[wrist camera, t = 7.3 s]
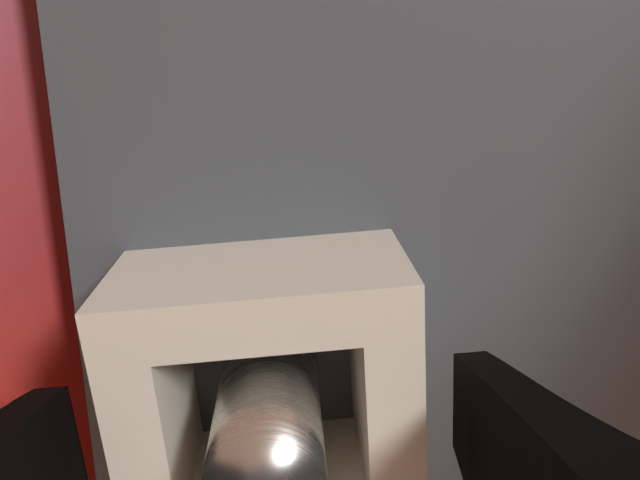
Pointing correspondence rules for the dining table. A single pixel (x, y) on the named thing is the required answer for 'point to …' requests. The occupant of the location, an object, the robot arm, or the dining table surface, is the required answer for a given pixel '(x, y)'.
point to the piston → (267, 421)
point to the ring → (257, 346)
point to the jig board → (374, 167)
